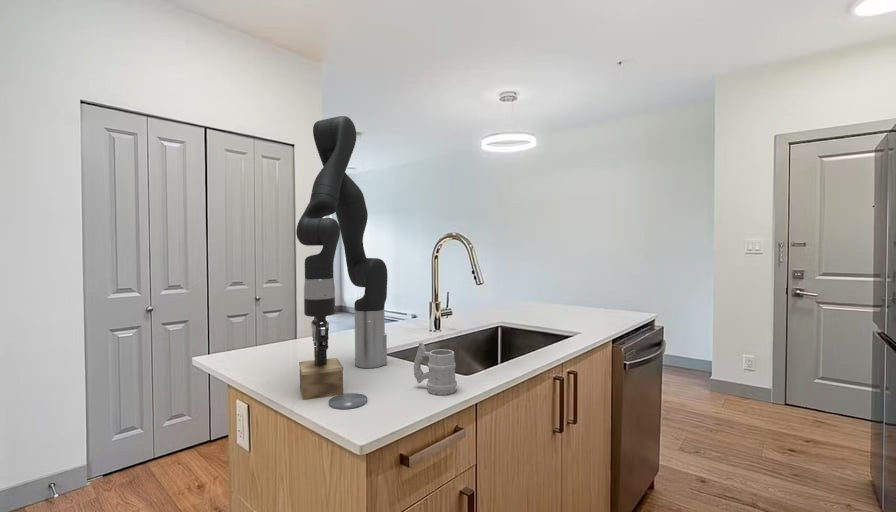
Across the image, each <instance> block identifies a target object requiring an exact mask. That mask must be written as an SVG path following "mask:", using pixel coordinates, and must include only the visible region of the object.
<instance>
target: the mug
mask: <svg viewBox="0 0 896 512" xmlns="http://www.w3.org/2000/svg"><path fill="white" fill-rule="evenodd" d="M425 357H428V363H427V368H428V371H427V372H424V371H423V370H422V368H421V367H422V366H421V364H422V361H423V360H424V358H425ZM456 364H457V363H456V362H455V351H454V350H451V349H444V348H443V349H442V348H441V349H439V348H438V349H433V350H430V351H426V346H425V344H424V342H422V341H419V342H418V349H417V352H416V355H415V358H414V363H413V375H414V379H416V382H417V384H421V383H422V382H423V381H424V380H426V379H427V381H426V387H427V389H428V393H430V394H432V395H434V394H435V395H438V396H446V395H447V394H448V395H451V394H453V393H456V390H457V386H458V382H457V380H456V366H457V365H456ZM435 395H434V396H435Z"/></svg>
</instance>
